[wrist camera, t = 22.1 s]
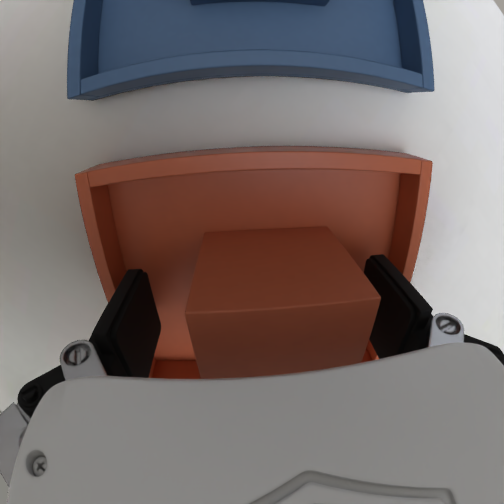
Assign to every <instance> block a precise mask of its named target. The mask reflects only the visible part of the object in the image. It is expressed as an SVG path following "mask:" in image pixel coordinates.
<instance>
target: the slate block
mask: <svg viewBox="0 0 504 504" xmlns="http://www.w3.org/2000/svg"><path fill="white" fill-rule="evenodd" d="M239 1H268V2H288V3H300V4H309V5H317V6H326V4H327V3H328V2H329V1H330V0H190V2H191V5H199V4H208V3H220V2H239Z"/></svg>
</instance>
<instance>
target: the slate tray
mask: <svg viewBox="0 0 504 504" xmlns="http://www.w3.org/2000/svg"><path fill="white" fill-rule="evenodd" d="M240 76H290V77H308V78H321V79H331V80H340V81H347V82H355V83H361V84H367V85H373V86H378V87H383V88H388V89H393V90H398V91H402V92H406V93H412V92H433V91H434V74H433V62H432V52H431V44H430V37H429V30H428V24H427V19H426V13H425V9H424V4H423V0H330V1H329V2H328V3H327V4H326V6H317V5H309V4H300V3H288V2H268V1H239V2H220V3H208V4H199V5H191V2H190V0H74V3H73V9H72V16H71V24H70V33H69V45H68V63H67V98H68V99H77V100H96V99H100V98H103V97H107V96H111V95H115V94H119V93H123V92H127V91H132V90H136V89H141V88H146V87H151V86H157V85H162V84H168V83H175V82H182V81H190V80H199V79H209V78H222V77H240Z"/></svg>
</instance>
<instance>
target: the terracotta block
mask: <svg viewBox="0 0 504 504" xmlns="http://www.w3.org/2000/svg"><path fill="white" fill-rule="evenodd" d="M380 300H381V296H380V295H379V294H378V292H377V291H376V289H375V288H374V287H373V285H372V284H371V282H370V281H369V280H368V278H367V277H366V276H365V274H364V273H363V272H362V270H361V269H360V268H359V266H358V265H357V264H356V262H355V261H354V260H353V258H352V257H351V256H350V254H349V253H348V252H347V250H346V249H345V248H344V247H343V245H342V244H341V243H340V242H339V240H338V239H337V238H336V236H335V235H334V234H333V233H332V231H331V230H330V229H329V228H328V227H302V228H279V229H258V230H239V231H221V232H205V233H204V235H203V239H202V243H201V247H200V251H199V255H198V259H197V263H196V267H195V271H194V275H193V279H192V283H191V287H190V291H189V296H188V300H187V304H186V309H185V317H186V321H187V326H188V330H189V334H190V338H191V342H192V346H193V350H194V354H195V358H196V362H197V366H198V369H199V373H200V377H201V379H219V378H241V377H257V376H270V375H280V374H290V373H299V372H307V371H314V370H321V369H328V368H334V367H340V366H346V365H352V364H357V363H361V362H362V359H363V356H364V353H365V350H366V347H367V344H368V341H369V338H370V335H371V332H372V328H373V325H374V322H375V318H376V315H377V311H378V308H379V304H380Z"/></svg>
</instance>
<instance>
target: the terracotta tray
mask: <svg viewBox="0 0 504 504" xmlns="http://www.w3.org/2000/svg"><path fill="white" fill-rule="evenodd" d="M431 173H432V161H430V160H427V159H423V158H420V157H417V156H413V155H410V154H407V153H399V152H390V151H381V150H370V149H357V148H341V147H317V146H260V147H236V148H219V149H206V150H195V151H185V152H176V153H167V154H159V155H152V156H145V157H138V158H132V159H126V160H120V161H115V162H109V163H104V164H99V165H96V166H94V167H91V168H89V169H86V170H84V171H82V172H79V173H77V174H75V180H76V186H77V191H78V197H79V202H80V207H81V211H82V216H83V220H84V224H85V229H86V233H87V236H88V240H89V244H90V248H91V251H92V255H93V258H94V262H95V265H96V268H97V271H98V275H99V278H100V281H101V284H102V287H103V290H104V293H105V295H106V298H107V301H108V303H109V301H110V299H111V297H112V296H113V294H114V292H115V291H116V289H117V287H118V285H119V284H120V282H121V280H122V279H123V277H124V275H125V274H126V272H127V271H128V269H142V270H143V272H146V273H147V274H148V278H149V282H150V286H151V290H152V293H153V297H154V301H155V304H156V308H157V312H158V315H159V318H160V322H161V332H160V336H159V339H158V343H157V347H156V350H155V354H154V358H153V362H152V366H151V370H150V374H149V378H165V379H201V377H200V373H199V369H198V366H197V362H196V358H195V354H194V350H193V346H192V342H191V338H190V334H189V330H188V326H187V321H186V317H185V309H186V304H187V300H188V296H189V291H190V287H191V283H192V279H193V275H194V271H195V267H196V263H197V259H198V255H199V251H200V247H201V243H202V239H203V235H204V233H205V232H221V231H239V230H258V229H279V228H302V227H328V228H329V229H330V230H331V231H332V233H333V234H334V235H335V236H336V238H337V239H338V240H339V242H340V243H341V244H342V245H343V247H344V248H345V249H346V250H347V252H348V253H349V254H350V256H351V257H352V258H353V260H354V261H355V262H356V264H357V265H358V266H359V268H360V269H361V270H362V272H363V273H364V268H365V262H366V260H367V259H369V257H370V256H371V255H380V254H383V255H385V256H386V257H387V258H388V259H389V261H390V262H391V263H392V264H393V265H394V266H395V267H396V268H397V269H398V270H399V271H400V272H401V273H402V274H403V276H404V277H405V278H406V279H407V280H408V281H409V282H411V278H412V274H413V271H414V267H415V263H416V259H417V255H418V250H419V246H420V241H421V237H422V232H423V227H424V221H425V216H426V210H427V204H428V197H429V190H430V182H431ZM377 359H379V358H378V356H377V354H376V352H375V350H374V348H373V346H372V344H371V342H370V340H369V341H368V344H367V347H366V350H365V353H364V356H363V359H362V362H367V361H372V360H377ZM362 362H361V363H362Z"/></svg>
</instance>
